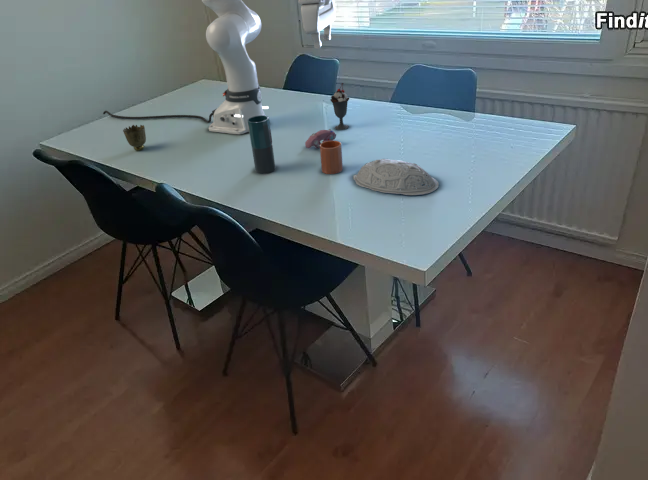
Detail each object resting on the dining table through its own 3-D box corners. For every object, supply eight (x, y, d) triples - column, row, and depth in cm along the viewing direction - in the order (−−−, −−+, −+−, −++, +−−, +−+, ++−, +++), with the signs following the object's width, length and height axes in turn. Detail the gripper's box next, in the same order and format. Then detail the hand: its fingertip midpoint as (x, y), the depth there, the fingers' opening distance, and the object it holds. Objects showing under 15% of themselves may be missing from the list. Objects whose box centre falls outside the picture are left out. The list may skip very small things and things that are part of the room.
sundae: (351, 123, 197) (349, 81, 188) (350, 130, 191) (348, 86, 183) (332, 124, 198) (329, 82, 189) (331, 131, 192) (328, 88, 184)
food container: (422, 199, 141) (422, 174, 138) (342, 186, 156) (341, 163, 153) (448, 182, 152) (449, 158, 149) (371, 171, 166) (370, 149, 163)
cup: (319, 173, 163) (316, 148, 159) (325, 165, 168) (323, 140, 163) (339, 174, 161) (337, 148, 157) (345, 166, 166) (343, 140, 161)
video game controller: (309, 155, 180) (312, 139, 174) (303, 145, 182) (306, 130, 176) (335, 147, 183) (339, 132, 177) (329, 138, 185) (332, 122, 179)
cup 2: (153, 145, 198) (148, 124, 194) (142, 153, 192) (136, 131, 188) (136, 145, 200) (130, 124, 196) (125, 153, 195) (118, 131, 190)
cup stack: (252, 173, 168) (244, 122, 159) (260, 165, 173) (252, 115, 164) (271, 174, 166) (264, 122, 157) (278, 165, 171) (271, 115, 162)
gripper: (318, -13, 162) (322, 37, 169) (295, -2, 146) (301, 53, 153) (338, -15, 160) (342, 35, 167) (318, -4, 144) (323, 51, 151)
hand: (322, 44), depth 160 cm, fingers open, 8 cm apart
